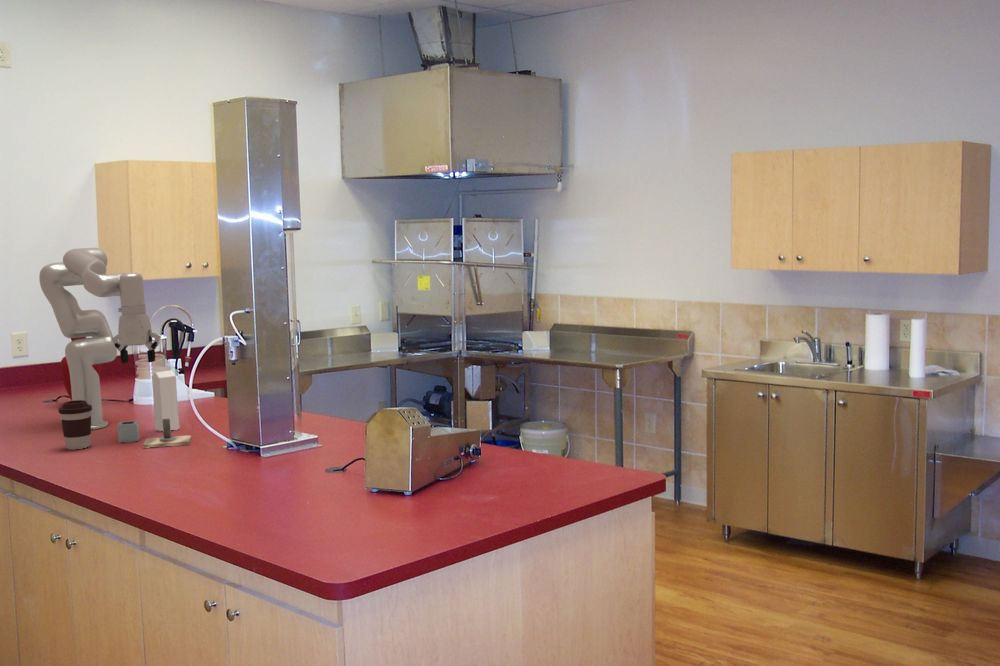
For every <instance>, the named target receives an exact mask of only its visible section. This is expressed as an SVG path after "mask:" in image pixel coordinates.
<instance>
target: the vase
mask: <svg viewBox="0 0 1000 666" xmlns="http://www.w3.org/2000/svg"><path fill="white" fill-rule="evenodd" d="M84 338H87V337H81V338H70V340H71V341H74V340H77V339H84ZM71 341H70V342H71ZM101 364H102V363H100V364H94V365H92V367H93V368H94V370H95V371H96V372H97V373H98V375H99V379H100V380H101V370H102V369H101V366H102V365H101ZM60 373H61V377H62V380H63V381H62V382H63V384H64V388H65V389H66V393H67V394H68V396H69V399H70V401H72V391H71V380H70V372H69V367H68V363H67V359H66V355H65V356H64V357H62V358H61V361H60Z"/></svg>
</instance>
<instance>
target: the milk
mask: <svg viewBox="0 0 1000 666" xmlns="http://www.w3.org/2000/svg"><path fill="white" fill-rule="evenodd" d="M151 381H152V382H151V384H152V398H153V409H154V411H153V412H154V425H155V431H157V430H159V431H158V432H161V431H163V419H170V431H171V430H174V431H178V429H179V430H180V419H179V405H178V403H179V402H178V391H177V390H178V389H177V376H176V374H175V373H174V371H173V370H172V366H171V365H169V366H160V367H155V368H154V373H153V374H152V375H151ZM171 432H172V431H171Z"/></svg>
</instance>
